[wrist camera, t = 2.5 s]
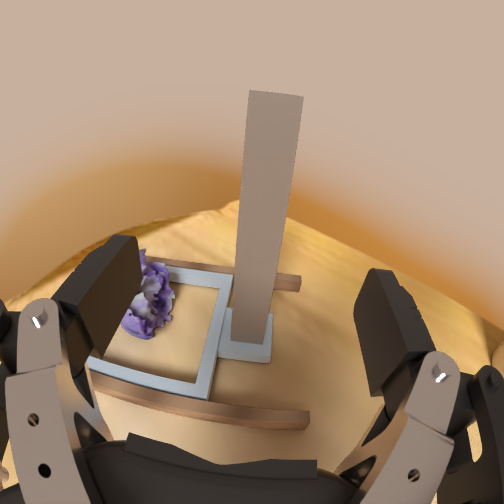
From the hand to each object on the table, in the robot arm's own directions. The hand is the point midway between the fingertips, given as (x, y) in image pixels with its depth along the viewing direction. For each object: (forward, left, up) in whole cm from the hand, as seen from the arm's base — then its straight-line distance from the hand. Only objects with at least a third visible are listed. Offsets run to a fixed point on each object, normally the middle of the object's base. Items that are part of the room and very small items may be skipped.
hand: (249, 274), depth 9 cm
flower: (+4, -16, -18) cm, 25 cm away
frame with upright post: (0, -14, -17) cm, 22 cm away
